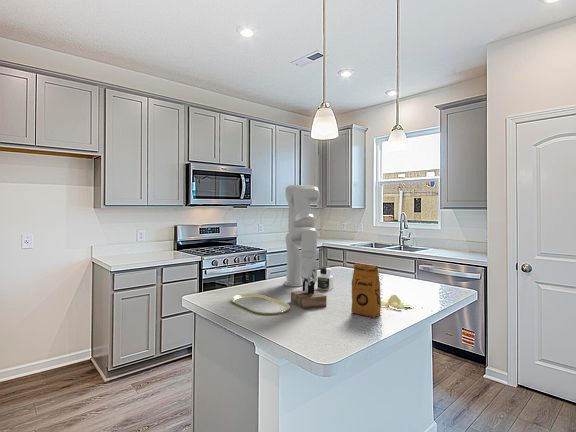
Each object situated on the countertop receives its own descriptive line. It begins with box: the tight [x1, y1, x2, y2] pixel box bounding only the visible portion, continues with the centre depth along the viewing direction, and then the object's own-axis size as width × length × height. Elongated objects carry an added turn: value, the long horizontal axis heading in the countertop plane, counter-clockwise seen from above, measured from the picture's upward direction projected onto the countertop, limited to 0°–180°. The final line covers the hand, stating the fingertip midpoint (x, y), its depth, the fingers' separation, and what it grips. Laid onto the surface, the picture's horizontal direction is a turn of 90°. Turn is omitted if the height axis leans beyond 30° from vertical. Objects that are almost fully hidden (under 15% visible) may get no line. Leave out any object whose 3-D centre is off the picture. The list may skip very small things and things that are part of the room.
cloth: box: [381, 294, 413, 309], centre depth 164 cm, size 22×19×6 cm
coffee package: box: [351, 263, 382, 318], centre depth 152 cm, size 10×12×22 cm
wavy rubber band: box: [231, 293, 291, 316], centre depth 165 cm, size 19×35×2 cm, turn 38°
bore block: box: [290, 289, 327, 310], centre depth 167 cm, size 14×12×5 cm
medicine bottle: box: [317, 266, 334, 291], centre depth 199 cm, size 7×7×12 cm
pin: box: [305, 280, 312, 295], centre depth 167 cm, size 4×4×10 cm
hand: (308, 291), depth 167 cm, fingers open, 4 cm apart
